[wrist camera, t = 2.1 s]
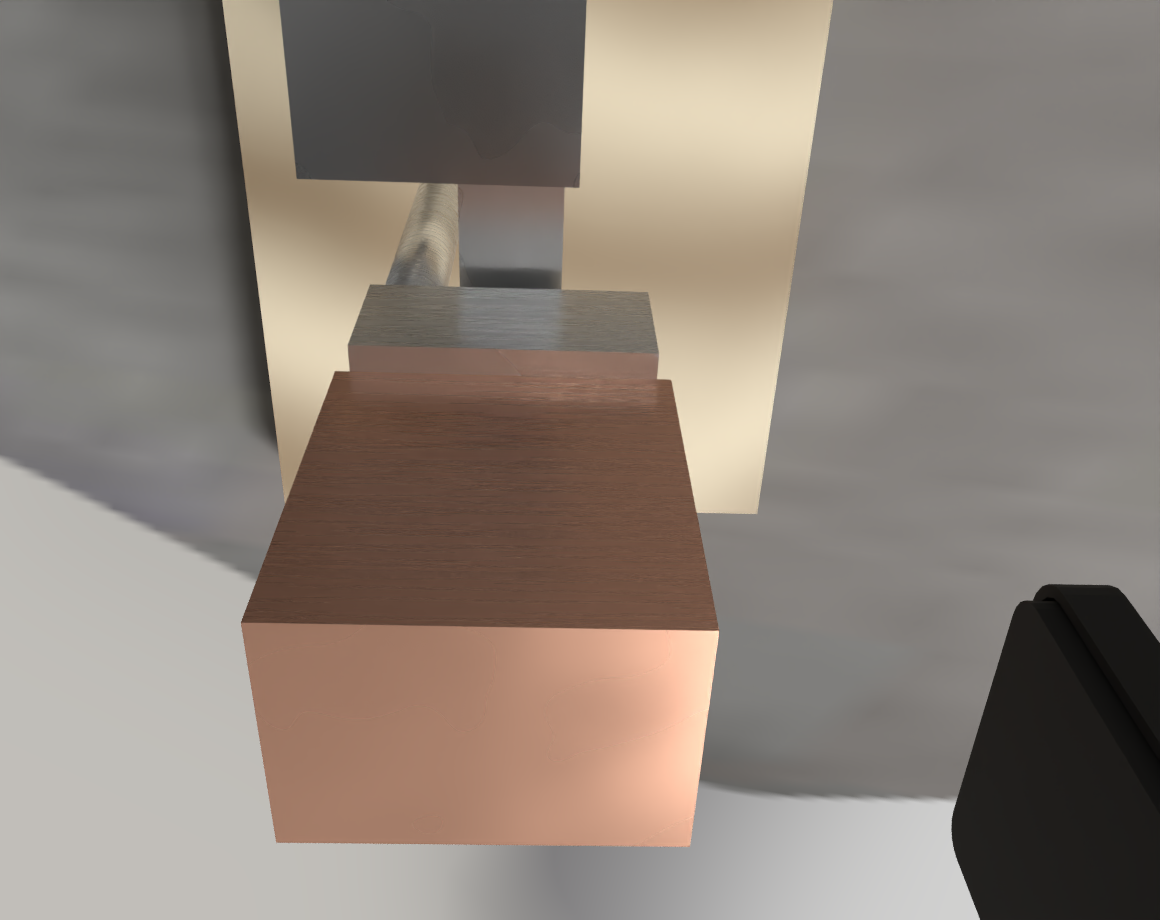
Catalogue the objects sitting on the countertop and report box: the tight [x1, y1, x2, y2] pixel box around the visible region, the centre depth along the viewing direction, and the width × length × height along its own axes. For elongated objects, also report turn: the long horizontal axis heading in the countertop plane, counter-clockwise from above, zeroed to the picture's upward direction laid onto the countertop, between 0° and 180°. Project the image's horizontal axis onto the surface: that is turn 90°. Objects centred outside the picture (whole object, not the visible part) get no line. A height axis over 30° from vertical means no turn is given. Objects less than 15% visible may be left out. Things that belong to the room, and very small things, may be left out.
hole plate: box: [222, 0, 833, 514], centre depth 23 cm, size 14×11×2 cm
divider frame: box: [279, 0, 587, 290], centre depth 18 cm, size 13×3×9 cm, turn 178°
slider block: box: [241, 183, 719, 847], centre depth 15 cm, size 3×4×14 cm
